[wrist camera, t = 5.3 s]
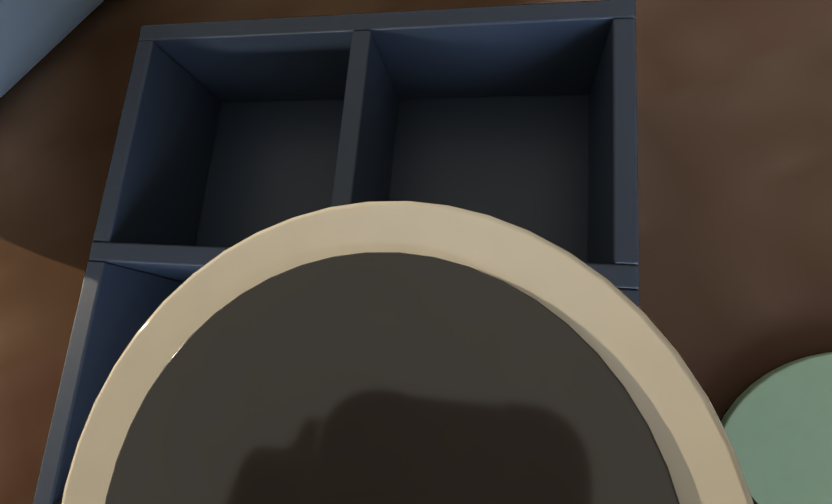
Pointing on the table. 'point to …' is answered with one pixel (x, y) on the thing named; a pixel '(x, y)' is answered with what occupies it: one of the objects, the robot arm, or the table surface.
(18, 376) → the table surface
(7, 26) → the blue rounded cube
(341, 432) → the pen pot
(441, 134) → the organizer
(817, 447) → the coaster
